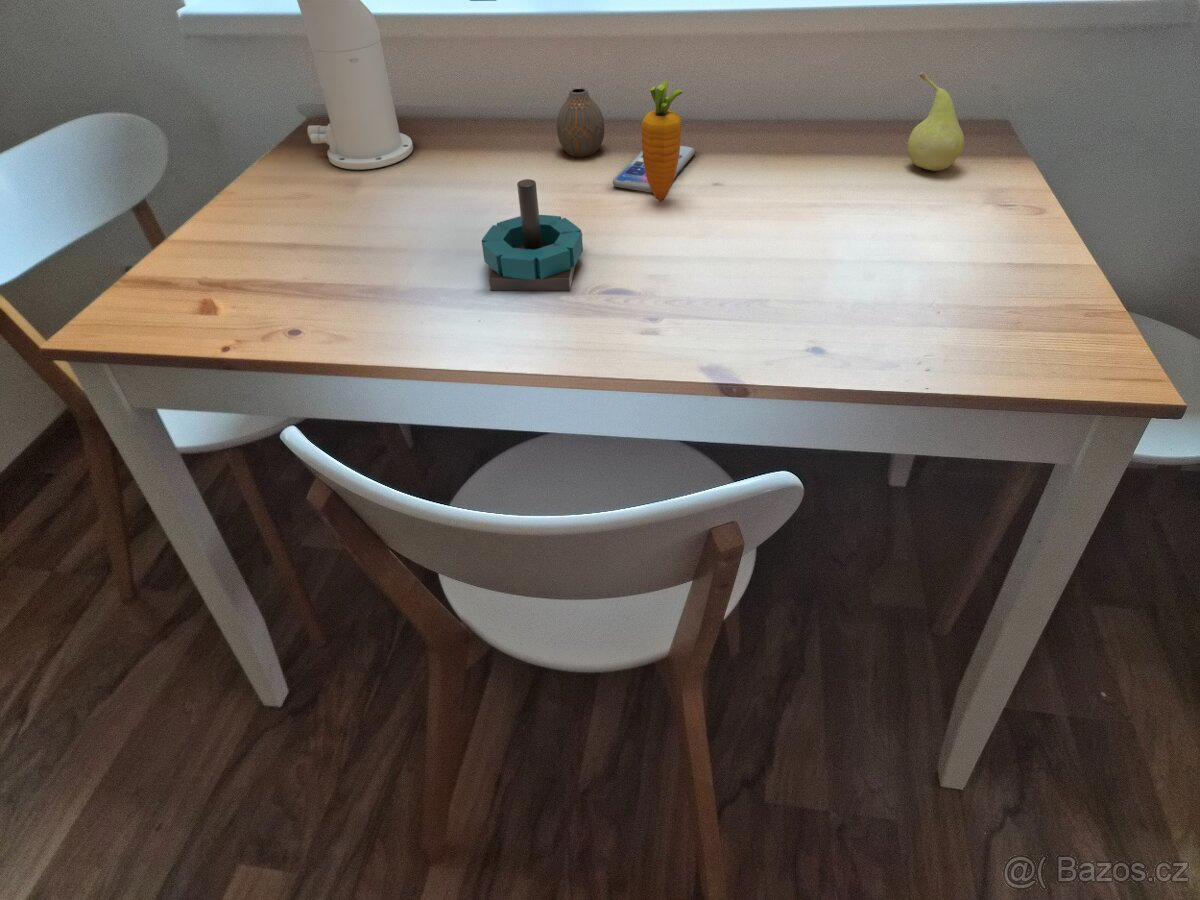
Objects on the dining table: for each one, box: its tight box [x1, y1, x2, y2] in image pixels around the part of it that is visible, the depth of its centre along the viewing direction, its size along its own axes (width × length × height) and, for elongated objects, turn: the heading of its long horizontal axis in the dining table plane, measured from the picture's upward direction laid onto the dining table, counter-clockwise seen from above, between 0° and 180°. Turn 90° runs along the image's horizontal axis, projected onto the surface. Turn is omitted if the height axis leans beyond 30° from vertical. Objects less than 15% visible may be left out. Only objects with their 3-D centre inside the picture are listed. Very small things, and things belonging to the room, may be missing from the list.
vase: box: [556, 87, 605, 158], centre depth 116 cm, size 7×7×9 cm
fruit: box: [906, 71, 965, 172], centre depth 106 cm, size 7×8×12 cm
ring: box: [481, 214, 584, 280], centre depth 92 cm, size 11×11×2 cm
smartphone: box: [612, 144, 696, 194], centre depth 113 cm, size 7×1×15 cm
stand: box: [488, 178, 576, 292], centre depth 90 cm, size 9×9×10 cm
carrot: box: [640, 80, 683, 203], centre depth 100 cm, size 5×5×15 cm
